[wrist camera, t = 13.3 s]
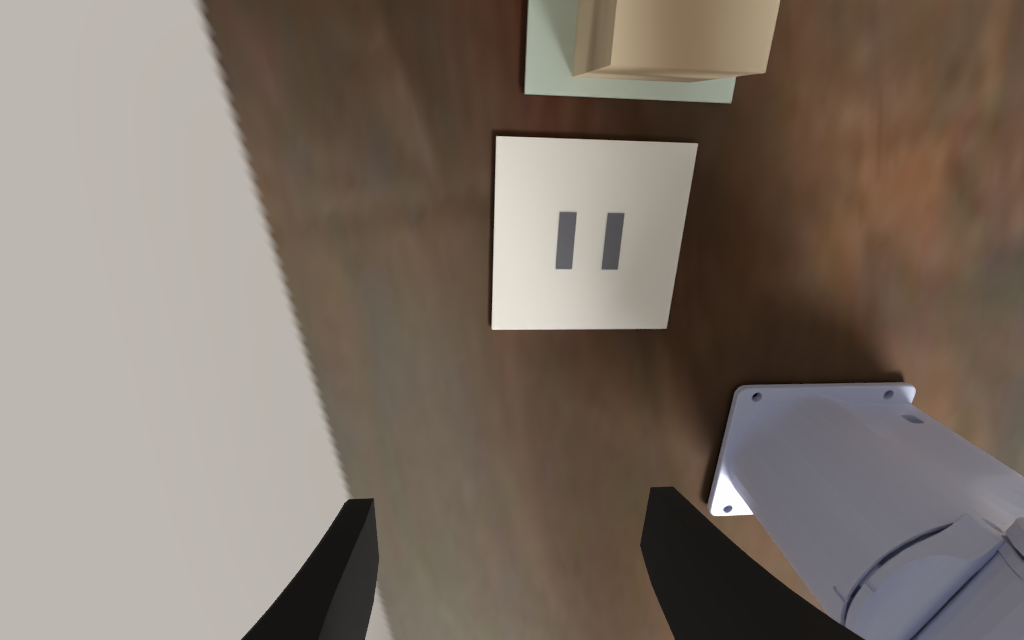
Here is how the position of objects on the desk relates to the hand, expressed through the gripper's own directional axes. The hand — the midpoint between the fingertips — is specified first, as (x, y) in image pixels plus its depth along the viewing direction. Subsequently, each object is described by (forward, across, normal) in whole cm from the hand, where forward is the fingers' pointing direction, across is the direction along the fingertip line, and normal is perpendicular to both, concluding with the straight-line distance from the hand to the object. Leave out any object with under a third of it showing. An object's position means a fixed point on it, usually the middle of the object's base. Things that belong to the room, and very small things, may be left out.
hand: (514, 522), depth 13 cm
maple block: (+10, -5, -13) cm, 18 cm away
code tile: (+10, -4, -5) cm, 12 cm away
